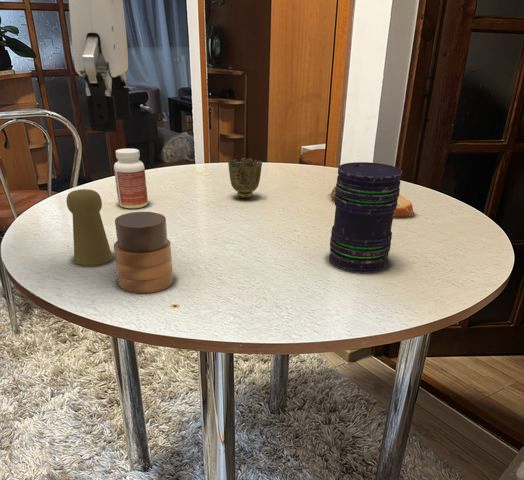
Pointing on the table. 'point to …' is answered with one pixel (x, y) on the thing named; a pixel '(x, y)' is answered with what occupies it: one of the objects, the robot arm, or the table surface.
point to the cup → (245, 176)
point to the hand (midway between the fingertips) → (112, 124)
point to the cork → (88, 228)
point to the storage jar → (364, 216)
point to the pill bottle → (130, 179)
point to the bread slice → (401, 210)
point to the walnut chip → (141, 231)
